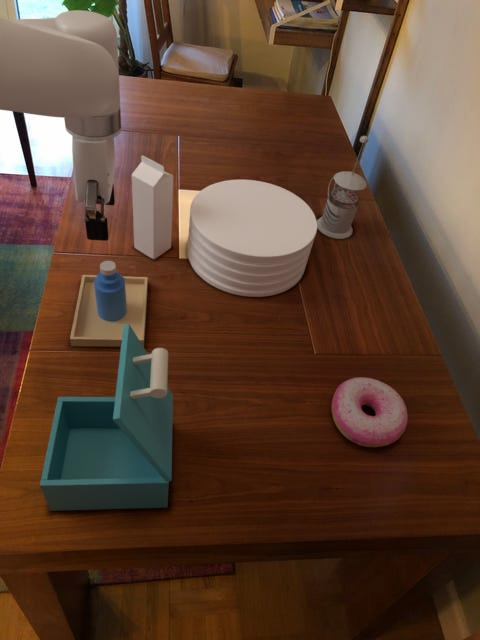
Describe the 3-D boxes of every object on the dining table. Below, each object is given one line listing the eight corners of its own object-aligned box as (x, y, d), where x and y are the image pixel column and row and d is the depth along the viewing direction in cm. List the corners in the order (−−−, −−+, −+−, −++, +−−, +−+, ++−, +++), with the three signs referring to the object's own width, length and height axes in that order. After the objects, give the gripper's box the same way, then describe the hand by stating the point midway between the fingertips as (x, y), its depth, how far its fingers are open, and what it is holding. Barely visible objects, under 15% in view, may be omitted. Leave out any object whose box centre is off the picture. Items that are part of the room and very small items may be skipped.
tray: (143, 347, 90) (143, 340, 89) (71, 346, 88) (69, 338, 86) (147, 284, 101) (147, 277, 100) (83, 282, 99) (82, 274, 98)
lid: (112, 419, 51) (158, 410, 50) (123, 324, 60) (162, 316, 60) (165, 482, 64) (203, 475, 63) (168, 396, 73) (200, 389, 72)
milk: (151, 236, 112) (151, 149, 96) (171, 248, 110) (174, 161, 94) (133, 248, 109) (130, 159, 93) (153, 260, 107) (153, 172, 91)
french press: (326, 240, 120) (356, 148, 102) (307, 213, 127) (332, 122, 109) (359, 236, 123) (395, 146, 105) (339, 210, 130) (369, 121, 112)
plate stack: (328, 276, 111) (342, 237, 103) (224, 312, 99) (231, 271, 91) (264, 210, 126) (272, 171, 117) (167, 233, 114) (168, 192, 105)
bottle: (104, 325, 92) (98, 279, 83) (93, 306, 95) (86, 260, 86) (131, 315, 94) (128, 270, 85) (119, 297, 97) (116, 252, 88)
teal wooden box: (50, 510, 68) (39, 485, 62) (66, 426, 77) (58, 396, 71) (167, 507, 71) (168, 482, 64) (169, 426, 80) (170, 397, 73)
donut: (391, 389, 91) (401, 374, 87) (409, 454, 82) (421, 440, 78) (323, 385, 90) (330, 369, 86) (334, 450, 81) (342, 436, 77)
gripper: (74, 89, 71) (85, 190, 83) (52, 145, 59) (69, 253, 71) (125, 95, 72) (129, 193, 84) (114, 151, 60) (120, 256, 73)
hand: (101, 220), depth 78 cm, fingers open, 9 cm apart
